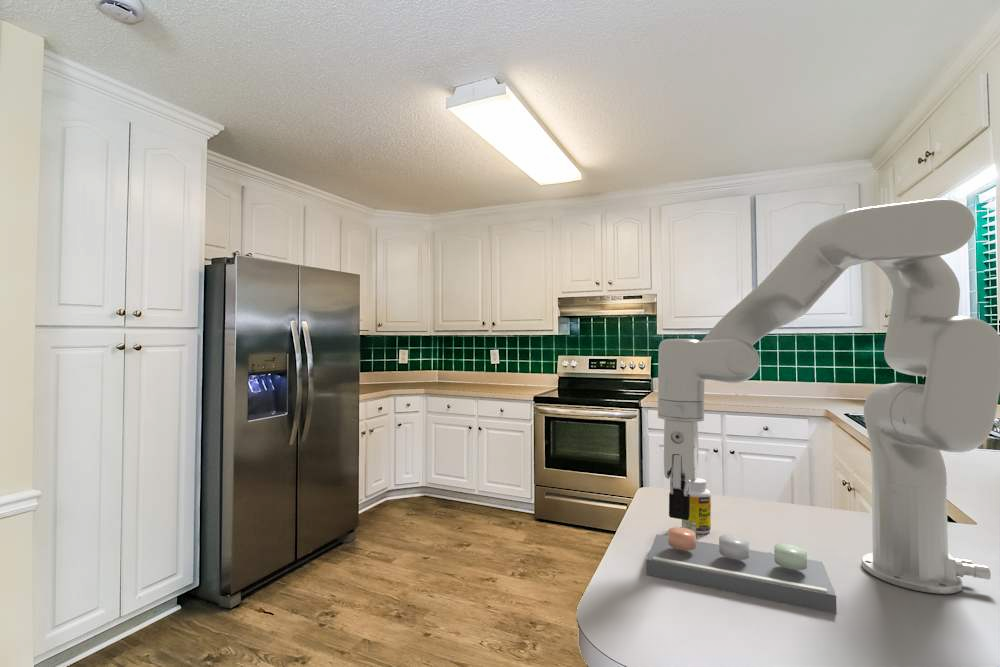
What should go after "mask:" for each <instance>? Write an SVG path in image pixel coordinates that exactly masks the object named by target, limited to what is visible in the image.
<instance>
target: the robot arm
mask: <svg viewBox="0 0 1000 667" xmlns="http://www.w3.org/2000/svg"><path fill="white" fill-rule="evenodd" d="M975 226H976V220H975V216H974V214H973V212H972V211H971V210H970V209H969V208H968V206H966V205H965V204H963V203H962V202H959V201H957V200H953V199H948V198H931V199H924V200H915V201H908V202H901V203H892V204H891V203H890V204H883V205H877V206H876V205H874V206H867V207H862V208H857V209H852V210H849V211H845V212H843V213H841V214H838V215H836V216H834V217H832V218H829V219H828V220H824V221H823V222H820V223H818V224H817V225H815V226H814V227H812V228H811V229H810V230H808V231H807V233H805V235H803V237H802V238H801V239H800V240H798V242H797V243H796V244H795V245H794V246H793V248H792V249H791V250H790V251H789V252H788V253H787V255H786V256H784V257H783V258H782V260H781V261H780V262H779V263H778V264H777V265H776V267H775V268H774V269H773V270H772V271H771V272H770V273H769V274H768V275H767V276H766V277H765V279H763V280H762V282H761V283H759V284H758V285H757V286H756V287H755V288H754V289H753V290H751V291H750V292H749V293H748V294H747V295H746V296H745V297H744V298H743V299H742V300H741V301H740V302H739V303H737V304H736V305H735V306H734V307H733V308H731V309H730V310H729V311H728V312H727V313H726V314H725V315H724V316H723V317H722V318H721V319H719V321H717V323H716V324H715V325H714V326H713V327H712V328H711V329H710V331H709V332H708V333H707V334H705V336H704V337H703V338H702V340H699V339H694V338H665V339H664V340H661V341H660V343H659V345H658V356H657V357H658V359H657V360H658V361H657V362H658V364H657V365H658V367H657V369H658V372H657V418H658V419H662V420H664V423H663V424H664V425H663V474H664V477H665V478H666V479H667V480H669V493H668V496H669V497H668V516H669V518H671V519H672V518H673V519H678V520H682V519H683V520H688V519H689V516H690V494H688V493H689V480H691V482H694V481H695V480H696V478H698V475H699V424H698V423H699V422H703V421H705V381H714V382H721V383H726V384H727V383H728V384H739V383H744V382H746V381H748V380H749V379H751V378H753V377H754V376H755V374H757V372H758V370H759V369H760V355H759V352H758V351H757V350H756V348H755V347H754V345H755V344H756V343H758V341H760V340H761V339H762V338H764V337H765V336H767V335H768V334H770V333H772V332H773V331H775V330H777V329H780V328H781V327H784V326H785V325H786V326H787V325H789V324H790V323H792V322H794V321H796V320H797V319H799V318H800V317H802V316H804V315H806V313H808V311H809V310H810V309H811V308H813V306H814V305H815V304H816V302H818V300H819V299H820V298H821V297H822V296H823V295H824V294H825V293H826V292H827V290H829V289H830V287H831V286H832V285H833V284H834V283H835V282H836V281H837V280H838V279H839V277H840V276H841V275H842V274H843V273H844V272H845V271H846V270H847V269H849V268H850V267H852V266H857V265H860V264H864V263H869V262H872V263H874V264H875V265H876V266H878V268H879V269H880V270H881V271H882V272H883V273H884V274H885V275H886V277H887V278H888V280H889V283H890V286H891V289H892V290H891V292H892V294H891V296H892V297H891V307H890V312H889V318H888V324H887V327H886V328H887V330H886V334H885V339H884V340H885V341H884V347H883V352H884V353H883V354H884V355H883V356H884V360H885V362H886V364H887V365H888V366H889V367H890V368H891V369H893V370H894V371H895V372H898V373H899V374H900V373H901V374H903V375H904V374H905V375H908V376H915V377H917V376H918V377H925V383H924V384H920V383H912V382H892V383H885V384H882V385H880V386H878V387H876V388H875V389H873V390H872V391H871V392H870V393H869V395H867V397H866V399H865V402H864V405H863V418H864V423H865V427H866V428H865V430H866V431H867V436H868V443H869V448H870V460H871V462H870V463H871V464H870V465H871V466H870V467H871V476H870V477H871V478H870V479H871V481H870V482H871V520H872V521H871V524H872V552H869V553H866V554H864V555H862V557H861V566H862V567H863V569H865V571H866V572H867V573H869V574H870V575H872V576H873V577H876V578H877V579H880V580H881V581H883V582H887V583H889V584H892V585H895V586H898V587H901V588H905V589H907V590H913V591H918V592H923V593H929V594H939V595H950V594H955V593H959V592H961V591H962V590H963V580H962V578H964V576H968V577H969V576H970V577H972V578H977V579H983V580H988V581H990V580H991V577H992V576H991V574H992V573H991V570H990V568H989V567H988V566H987V565H982V564H981V565H980V564H975V563H972V560H971V559H965V558H954V557H953V556H952V554H950V553H949V540H948V535H949V534H948V495H947V494H948V492H947V490H948V489H947V485H948V482H947V481H948V478H947V476H948V475H947V469H946V464H945V461H944V457H943V454H942V453H941V451H943V452H947V453H948V452H949V453H965V452H971V451H973V450H975V449H977V448H979V447H980V446H982V444H984V443H985V442H986V441H987V439H988V438H989V436H990V434H991V432H992V429H993V427H994V422H995V419H996V414H997V408H998V405H999V404H998V403H999V397H1000V335H999V332H998V331H997V330H996V329H995V328H994V326H992V325H990V324H989V323H988V322H986V321H984V320H983V319H980V318H976V317H973V316H968V315H966V316H965V315H959V310H960V299H961V298H960V297H961V288H960V282H959V280H958V277H957V275H956V274H955V272H954V270H953V269H952V268H951V267H950V265H949V264H948V263H947V262H946V261H945V259H943V258H942V257H941V256H945V255H949V254H951V253H954V252H956V251H958V250H959V249H961V248H962V247H964V246H965V245H966V244H967V243H968V242H969V241H970V240H971V238H972V236H973V235H974V231H975V229H976V228H975Z"/></svg>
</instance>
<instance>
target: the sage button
mask: <svg viewBox="0 0 1000 667" xmlns="http://www.w3.org/2000/svg"><path fill="white" fill-rule="evenodd" d="M773 548H774V552H773V554H774V561H775V563H776V564H778V565H780V566H782V567H784V568H788V569H792V570H805V569H806V568H807V559H808V551H807V550H806V549H804V548H803V547H801V546H797V545H793V544H788V543H776V544H775V545H773Z"/></svg>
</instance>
